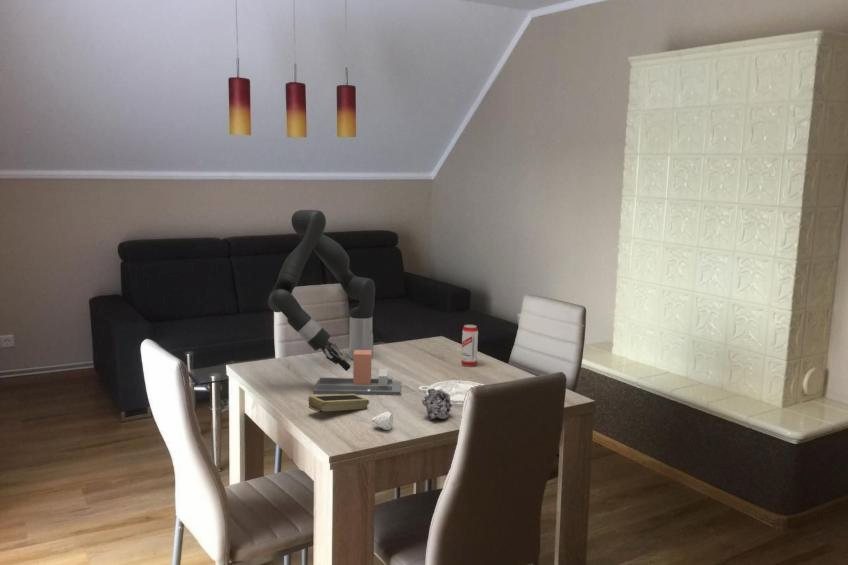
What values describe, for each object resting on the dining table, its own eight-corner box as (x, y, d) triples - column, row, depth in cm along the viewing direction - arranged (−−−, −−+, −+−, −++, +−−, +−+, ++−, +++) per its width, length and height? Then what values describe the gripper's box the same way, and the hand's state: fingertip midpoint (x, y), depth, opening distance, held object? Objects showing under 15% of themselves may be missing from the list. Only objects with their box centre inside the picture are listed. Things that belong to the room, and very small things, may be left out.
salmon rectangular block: (353, 387, 252) (353, 354, 250) (354, 382, 258) (354, 349, 256) (370, 387, 252) (370, 354, 250) (371, 382, 258) (371, 350, 256)
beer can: (468, 361, 294) (469, 323, 291) (480, 365, 290) (481, 326, 287) (457, 364, 290) (459, 325, 287) (469, 368, 285) (471, 328, 283)
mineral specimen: (426, 393, 240) (433, 373, 232) (454, 406, 238) (461, 386, 231) (411, 422, 230) (417, 402, 223) (439, 436, 229) (446, 416, 221)
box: (305, 410, 228) (307, 395, 228) (359, 406, 244) (361, 392, 244) (320, 418, 223) (323, 402, 222) (375, 413, 239) (377, 399, 238)
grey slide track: (313, 393, 249) (313, 376, 248) (317, 383, 261) (317, 366, 260) (400, 395, 250) (400, 377, 249) (400, 384, 262) (400, 368, 261)
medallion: (483, 412, 237) (483, 405, 236) (406, 400, 246) (406, 394, 245) (501, 391, 258) (501, 385, 258) (430, 381, 267) (430, 375, 267)
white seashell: (375, 424, 222) (375, 407, 221) (393, 426, 220) (394, 409, 219) (368, 430, 217) (369, 413, 216) (387, 433, 215) (388, 415, 214)
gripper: (319, 331, 245) (355, 366, 247) (323, 322, 258) (357, 356, 260) (303, 346, 246) (339, 381, 248) (308, 336, 259) (342, 370, 261)
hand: (348, 368), depth 254 cm, fingers closed
